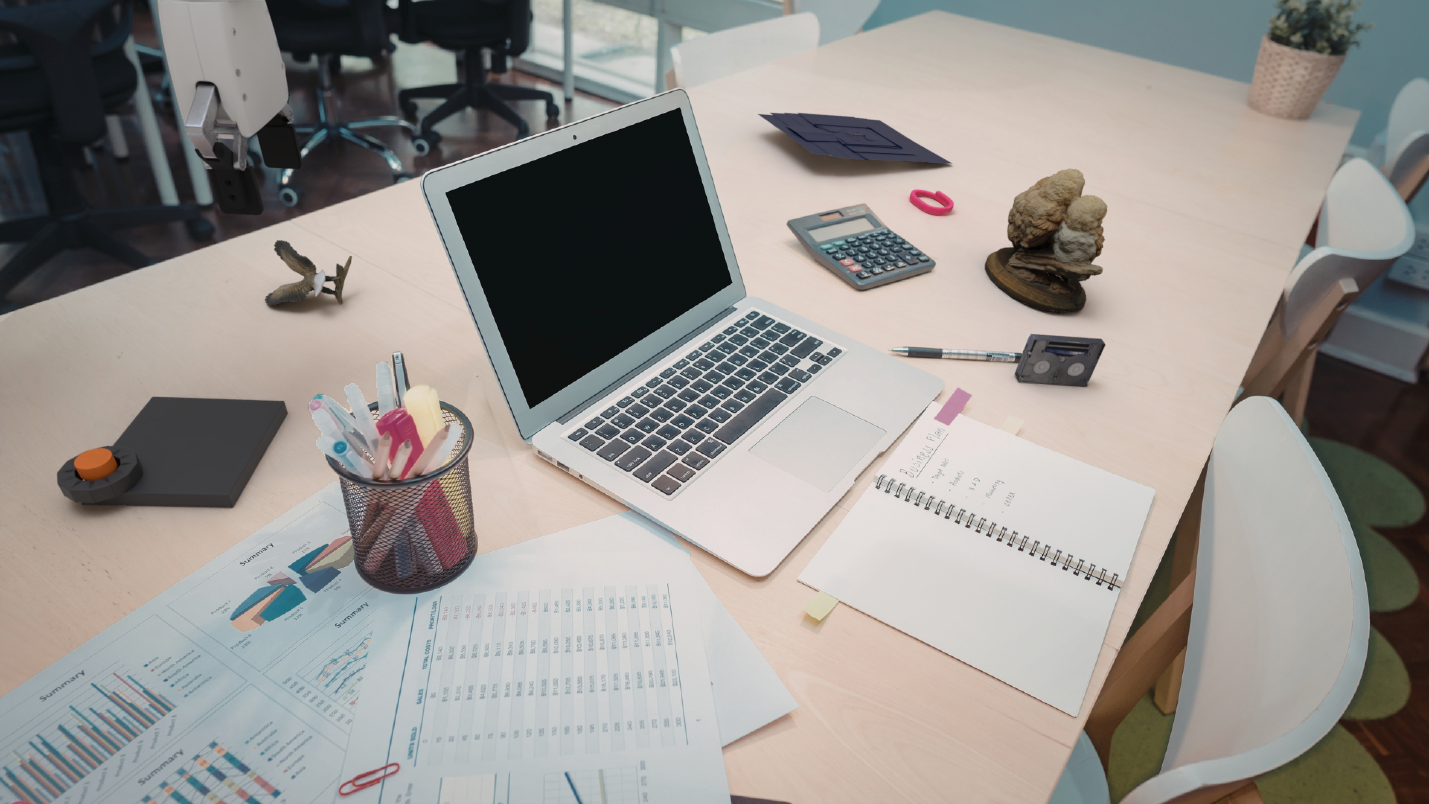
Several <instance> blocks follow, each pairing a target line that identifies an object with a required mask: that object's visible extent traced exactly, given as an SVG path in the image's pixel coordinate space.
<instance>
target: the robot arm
mask: <svg viewBox="0 0 1429 804" xmlns="http://www.w3.org/2000/svg"><path fill="white" fill-rule="evenodd" d="M157 8H158V9H157V10H158V17H159V24H160V31H161V37H162V41H163V42H162V43H163V47H164V52H165V56H166V57H165V58H166V61H167V65H168V70H169V74H170V77H171V82H172V86H173V90H174V93H175V97H176V100H177V104H178V108H179V112H180V115H181V118H182V121H183V124H184V131H185V134H186V136H187V137H188V139H189V140H190V142H191V144H192V146H194V152H195V154H196V155H197V157H198V158H199V159H201V162H202V165H203V167H204V168H205V169H206V170H208V174H209V176H210V177H209V178H210V180H211V184H212V187H213V191H214V193H215V196H216V200H217V203H218V207H219V209H220V212H221V213H223V214H226V215H242V216H243V215H246V216H261V215H262V214H263V213H264V212H265V206H264V203H263V199H262V195H261V192H260V189H259V185H258V180H257V177H256V173H255V170H254V166H253V165H247V164H248V163H247V161H248V142H249V138H250V137H252V136H254V135H255V134H256V137H257V141H258V145H259V149H260V153H261V156H262V161H263V164H264V166H265V167H266V168H269V169H287V170H301V169H302V167H303V166H304V161H303V157H302V153H301V148H300V144H299V139H298V135H297V131H296V126H295V123H293V122H294V120H295V119H294V118H295V115H294V114H295V113H294V111H293V109H292V107H291V106H290V104H289V103H290V96H291V93H290V91H291V90H290V89H289V87H288V81H287V70H286V68H287V67H286V63H285V61H284V60H283V59H282V58H283V57H282V54H281V50H280V47H279V42H278V39H277V36H276V32H275V27H274V26H273V25H274V24H273V21H272V18H271V15H270V12H269V9H268V5H267V2H266V0H157ZM217 124H225V125H235V126H222V125H217ZM219 139H225V140H232V141H233V142H232V150H231V149H230V148H229V147H228V146H227V145H226V144H225V143H224V142H222V141H219Z"/></svg>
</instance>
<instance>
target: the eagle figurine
mask: <svg viewBox="0 0 1429 804" xmlns="http://www.w3.org/2000/svg"><path fill="white" fill-rule="evenodd" d="M273 247H274V248H273V251H274V252H275V253H276V255H277V256H278V257H279V259H280V260H281V261H283V262H284V263H285V264H286V266H287V267H288V268H289V269H290V270H292V271H293V272H295V273H297V274H298V275H300V276H303V279H302V280H300V281H299V280H298V281H296V282H292V283H287V284H282V285H280V286H278V288H277V289H275V290H273V291H272V292H269V293H268V294H267V295H266V296H265V298H264V301H265V304H267V306H276V305H278V304H282V303H289V302H291V303H297V302H300V301H304V300H305V299H306V298H307V296H308V295H309V294H310V292H313V291H314V296H315V297H316V298H317V297H318V296H319V294H320V293H323V294H327V295H331V296H332V295H333V296H334V298H335V300H336V301H337V303H339V305H343V297H342V296H343V291H344V286H345V281H346V278H347V275H348V272H349V270H350V267H351V265H352V259H353V256H352V255H350V256H349V257H348V259H347V261H346V262H345V264H344V266H343V265H342V264H339V263H336V265H335V276H334V275H333V276H331V275H326V273H325V270H324V269H321V270H320V271H319V272H317V266H316V264H314V262H313V261H312V260H311V259H310V258H309V257H308V256H307V255H301V254H300V253H299V252H298V251H297V250H295V248H294V247H293V246H292V245H291V243H290V242H288V241H287V240H283V239H277V240H276V241H275V242H274V245H273ZM329 282H333V284H334V289H331V288H330V287H327V286H325V283H329Z"/></svg>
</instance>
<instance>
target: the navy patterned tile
mask: <svg viewBox="0 0 1429 804" xmlns="http://www.w3.org/2000/svg"><path fill="white" fill-rule="evenodd" d="M757 115H758V116H759V117H761V118H763V120H765V121H767V122H768V123H769V124H772V126H774V127H775V128H777V129H778V130H779V131H781V132H782V133H783V134H785V135H786V136H788V137H789V138H791V139H792V140H793V141H795V142H796V143H797V144H799V145H800V146H802V147H803V148H804V149H806V150H807V151H808V152H810V153H811V154H812V155H817V156H818V155H819V156H831V157H832V158H836V159H838V158H839V159H850V160H860V161H861V160H862V161H870V160H875V161H876V160H877V161H898V162H899V161H900V162H919V163H920V162H922V163H931V164H950V165H951V164H954V163H953V162H951V161H949V160H948V159H946V158H945V157H942V156H940V155H939V154H937V153H935V152H933V151H932V150H929V149H928V148H926V147H924V146H923V145H922V144H921V145H920V144H919V143H917V142H916V141H914V140H912V139H911V138H909V137H907V136H906V135H904V134H903V133H901V132H900V131H898V130H896V129H895V128H893V127H891V126H890V125H888V124H887V123H885V122H884V121H882V120H880V119H871V118H863V117H855V116H848V115H833V114H819V113H807V112H797V113H794V112H783V113H782V112H770V114H764V113H757Z"/></svg>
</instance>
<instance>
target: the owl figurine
mask: <svg viewBox="0 0 1429 804" xmlns="http://www.w3.org/2000/svg"><path fill="white" fill-rule="evenodd" d="M1085 184H1086V179H1085V178H1084V173H1083V172H1081V170H1079V169H1077V168H1067V169H1061V170H1058V171H1057V172H1056V173H1053V174H1052V175H1050V176H1045V177H1043V178H1041V179H1039V180H1037V181H1036V183H1034V185H1031V186H1030V187H1029V188H1028V189H1027V190H1024V191H1023V192H1020V193H1019V194H1016V195H1015V197H1014V199H1013V203H1012V207H1011V208H1010V209H1009V212H1008V215H1007V222H1008V224H1007V230H1006V233H1007V239H1008V241H1009V242H1011V244H1012V246H1008V247H1007V246H1006V247H1001V248H999V249H998V250H997V251H993V252H991V253H990V254H988V256H987V257H986V260H985V262H984V268H985V271H986V274H987V275H988V277H989V279H990V280H991V281H992V282H993V284H995V285H996V286H997V287H998V288H999V289H1001V290H1002V291H1003V292H1005V293H1006V294H1007V295H1008V296H1010V297H1011V298H1013V299H1015V300H1017V301H1019V302H1021V303H1022V304H1024V305H1027V306H1029V307H1032V308H1035V309H1037V310H1040V311H1043V312H1053V313H1055V314H1056V313H1057V314H1060V313H1068V312H1069V313H1070V312H1079V311H1082V310H1083V308H1084V307H1085V305H1086V302H1087V294H1086V290H1085V288H1084V287H1083V286H1082V283H1081V282H1086V281H1087V280H1089V279H1090V278H1091V276H1099V275H1101V274H1103V271H1104V268H1103V267H1102V266H1100V265H1097V264H1093V262H1094V261H1095V259H1096V258H1098V257H1099V256H1100V255H1102V251H1103V248H1104V242H1105V241H1106V239H1105V236H1104V235H1103V234H1104V232H1105V231H1104V227H1103V226H1102V224H1103V223H1104V222H1103V220H1104V219H1105V218H1106V216H1107V214H1108V205H1107V204H1106V202H1105V201H1104V200H1103V199H1102V198H1101V197H1099V196H1096V195H1094V194H1084V195H1082V194H1083V191H1084V187H1085ZM1056 276H1059V277H1060V278H1061V279H1060V278H1057V277H1056Z"/></svg>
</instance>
